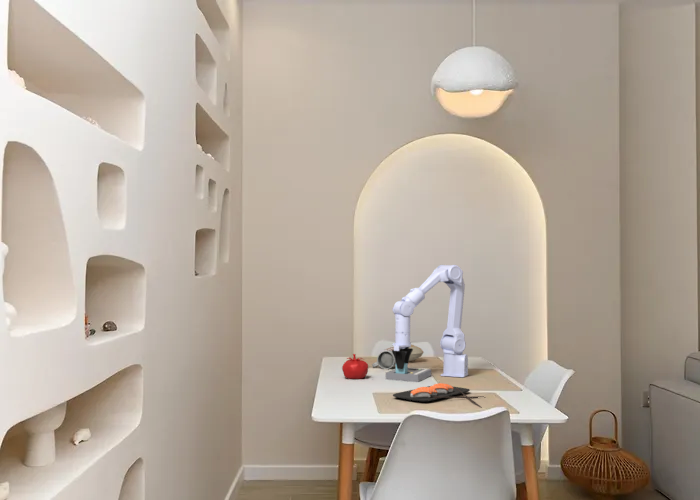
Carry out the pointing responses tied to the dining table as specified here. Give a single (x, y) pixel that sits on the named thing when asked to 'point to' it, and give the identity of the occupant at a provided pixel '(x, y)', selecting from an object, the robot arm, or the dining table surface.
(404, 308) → the robot arm
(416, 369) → the panel
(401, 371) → the plug
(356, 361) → the red round piece
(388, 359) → the ceramic mug
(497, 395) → the dining table surface
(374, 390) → the dining table surface
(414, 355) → the nautilus
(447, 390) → the sushi plate
